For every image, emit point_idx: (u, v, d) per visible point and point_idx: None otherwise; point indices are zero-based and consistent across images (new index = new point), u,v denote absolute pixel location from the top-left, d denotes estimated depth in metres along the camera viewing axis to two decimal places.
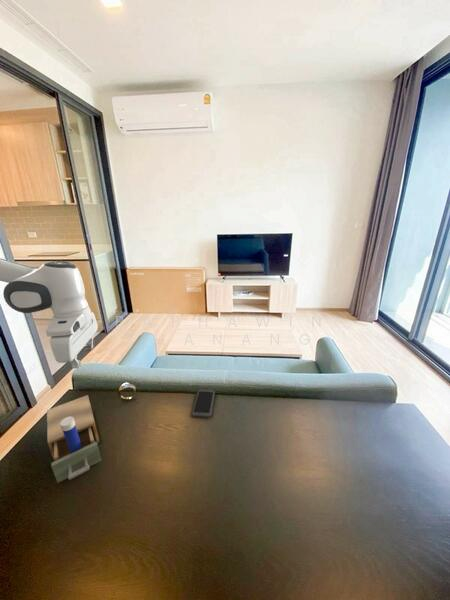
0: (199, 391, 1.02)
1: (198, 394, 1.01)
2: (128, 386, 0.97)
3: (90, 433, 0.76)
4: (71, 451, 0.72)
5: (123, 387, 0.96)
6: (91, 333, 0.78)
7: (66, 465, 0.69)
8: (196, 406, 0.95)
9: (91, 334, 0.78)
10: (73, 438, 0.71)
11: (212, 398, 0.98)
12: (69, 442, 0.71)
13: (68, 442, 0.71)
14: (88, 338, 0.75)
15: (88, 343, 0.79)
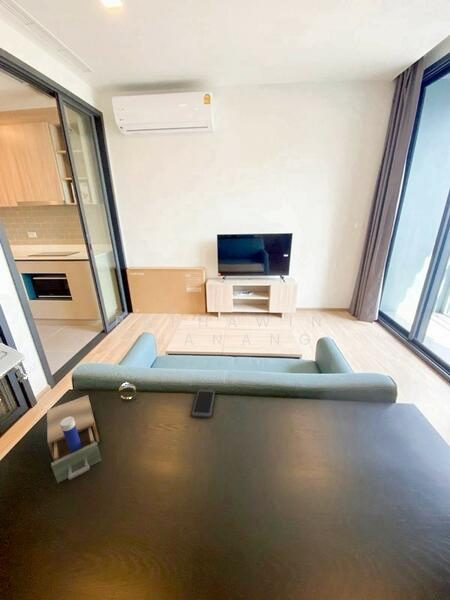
0: (199, 391, 1.02)
1: (198, 394, 1.01)
2: (128, 386, 0.97)
3: (90, 433, 0.76)
4: (71, 451, 0.72)
5: (123, 387, 0.96)
6: (7, 364, 0.69)
7: (66, 465, 0.69)
8: (196, 406, 0.95)
9: (8, 365, 0.68)
10: (73, 438, 0.71)
11: (212, 398, 0.98)
12: (69, 442, 0.71)
13: (68, 442, 0.71)
14: (1, 371, 0.66)
15: (19, 375, 0.71)
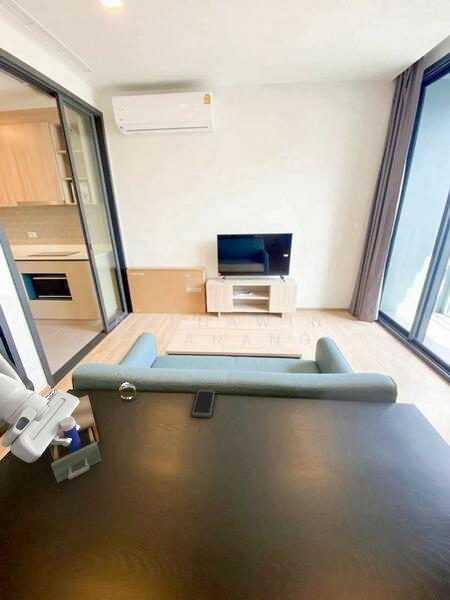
0: (199, 391, 1.02)
1: (198, 394, 1.01)
2: (128, 386, 0.97)
3: (90, 433, 0.76)
4: (71, 451, 0.72)
5: (123, 387, 0.96)
6: (67, 411, 0.74)
7: (66, 465, 0.69)
8: (196, 406, 0.95)
9: (68, 411, 0.74)
10: (73, 438, 0.71)
11: (212, 398, 0.98)
12: None
13: None
14: (63, 418, 0.72)
15: None
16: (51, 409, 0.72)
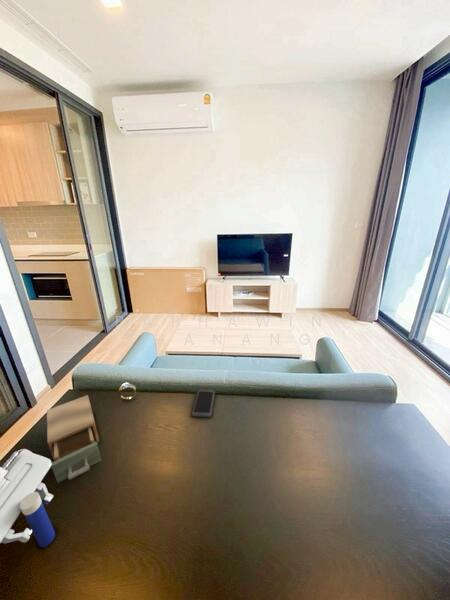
0: (199, 391, 1.02)
1: (198, 394, 1.01)
2: (128, 386, 0.97)
3: (90, 433, 0.76)
4: (37, 537, 0.55)
5: (123, 387, 0.96)
6: (33, 482, 0.57)
7: (66, 465, 0.69)
8: (196, 406, 0.95)
9: (34, 483, 0.57)
10: (38, 521, 0.54)
11: (212, 398, 0.98)
12: (34, 527, 0.54)
13: (32, 527, 0.54)
14: (27, 494, 0.55)
15: (42, 496, 0.58)
16: (10, 483, 0.54)
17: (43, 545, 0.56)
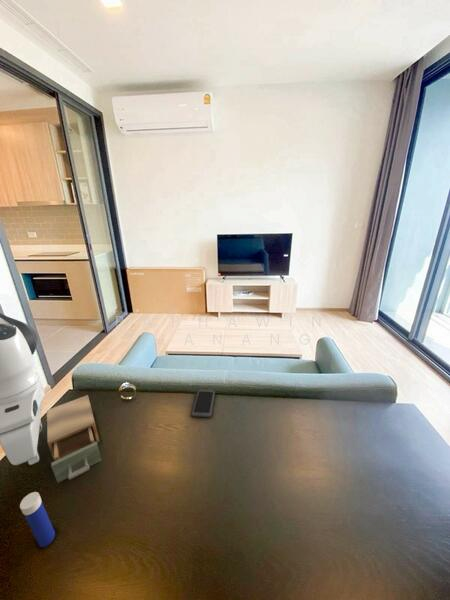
0: (199, 391, 1.02)
1: (198, 394, 1.01)
2: (128, 386, 0.97)
3: (90, 433, 0.76)
4: (37, 537, 0.55)
5: (123, 387, 0.96)
6: (40, 409, 0.59)
7: (66, 465, 0.69)
8: (196, 406, 0.95)
9: (40, 411, 0.59)
10: (38, 521, 0.54)
11: (212, 398, 0.98)
12: (34, 527, 0.54)
13: (32, 527, 0.54)
14: (39, 417, 0.57)
15: None
16: None
17: (43, 545, 0.56)
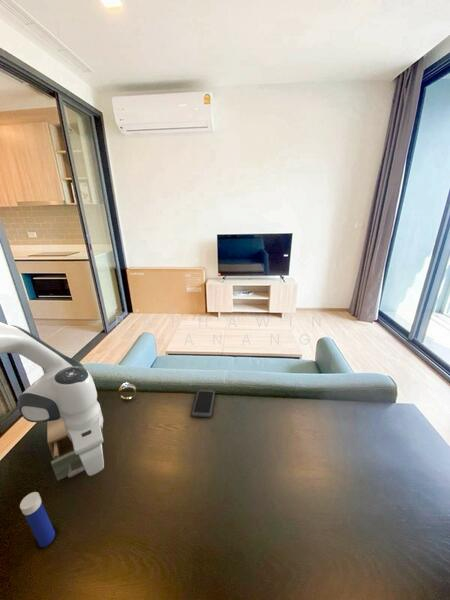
0: (199, 391, 1.02)
1: (198, 394, 1.01)
2: (128, 386, 0.97)
3: None
4: (37, 537, 0.55)
5: (123, 387, 0.96)
6: None
7: (66, 463, 0.69)
8: (196, 406, 0.95)
9: None
10: (38, 521, 0.54)
11: (212, 398, 0.98)
12: (34, 527, 0.54)
13: (32, 527, 0.54)
14: None
15: None
16: None
17: (43, 545, 0.56)
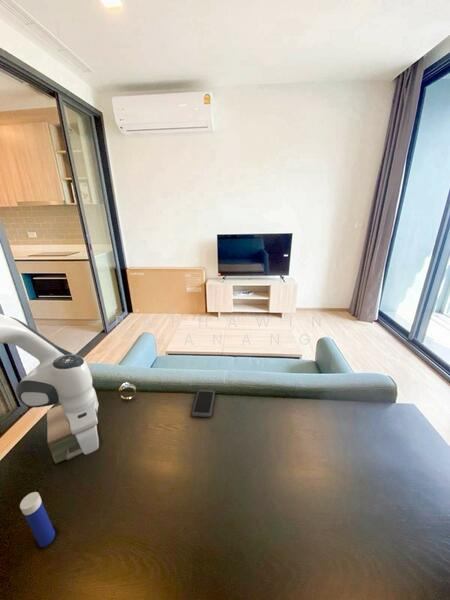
0: (199, 391, 1.02)
1: (198, 394, 1.01)
2: (128, 386, 0.97)
3: None
4: (37, 537, 0.55)
5: (123, 387, 0.96)
6: None
7: (64, 447, 0.74)
8: (196, 406, 0.95)
9: None
10: (38, 521, 0.54)
11: (212, 398, 0.98)
12: (34, 527, 0.54)
13: (32, 527, 0.54)
14: None
15: None
16: None
17: (43, 545, 0.56)
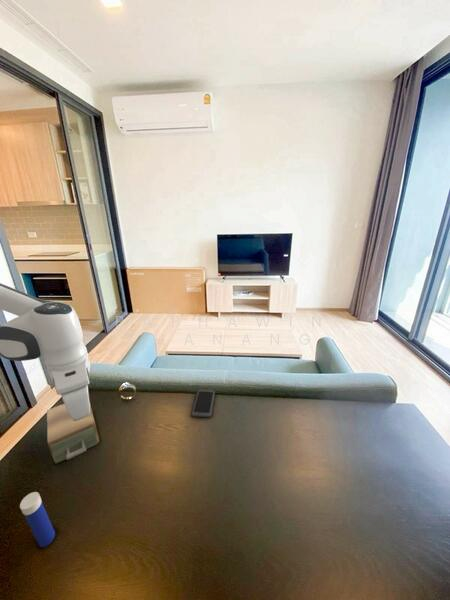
0: (199, 391, 1.02)
1: (198, 394, 1.01)
2: (128, 386, 0.97)
3: None
4: (37, 537, 0.55)
5: (123, 387, 0.96)
6: None
7: (64, 447, 0.74)
8: (196, 406, 0.95)
9: None
10: (38, 521, 0.54)
11: (212, 398, 0.98)
12: (34, 527, 0.54)
13: (32, 527, 0.54)
14: None
15: None
16: None
17: (43, 545, 0.56)
